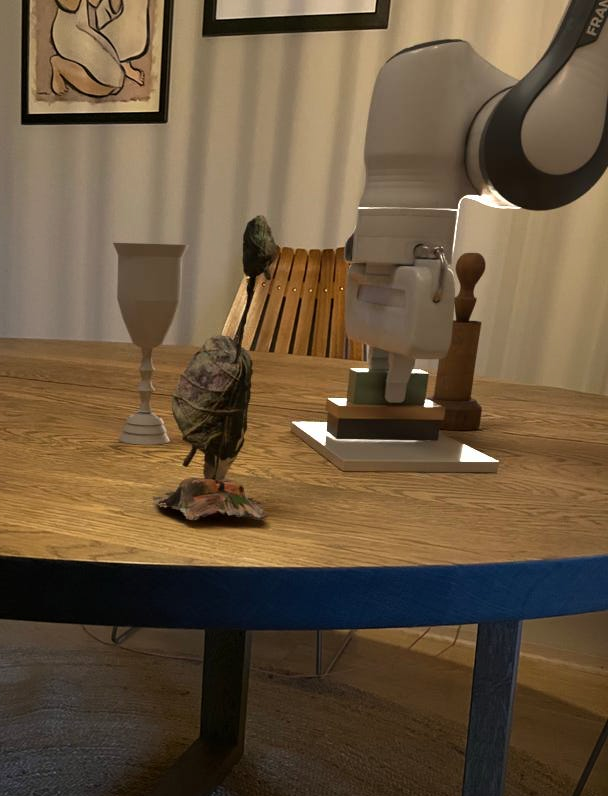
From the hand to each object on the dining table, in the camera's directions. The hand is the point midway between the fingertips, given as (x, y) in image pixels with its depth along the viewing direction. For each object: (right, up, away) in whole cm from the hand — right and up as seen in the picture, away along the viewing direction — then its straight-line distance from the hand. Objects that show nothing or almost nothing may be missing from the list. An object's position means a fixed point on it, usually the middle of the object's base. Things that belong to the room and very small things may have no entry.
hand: (386, 398), depth 99 cm
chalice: (-23, -4, +2) cm, 24 cm away
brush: (0, -3, +1) cm, 4 cm away
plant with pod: (-19, -14, -24) cm, 33 cm away
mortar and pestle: (+11, 0, +15) cm, 19 cm away
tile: (0, -5, 0) cm, 5 cm away
